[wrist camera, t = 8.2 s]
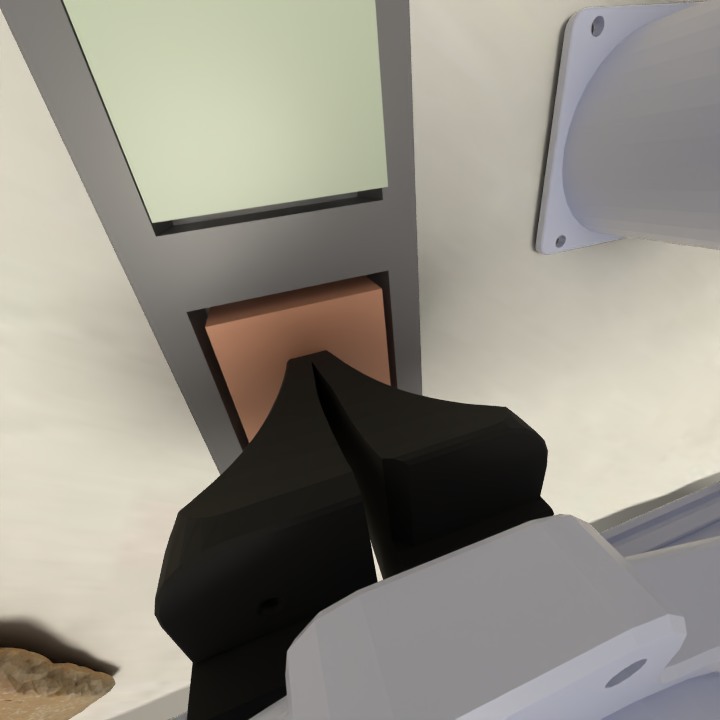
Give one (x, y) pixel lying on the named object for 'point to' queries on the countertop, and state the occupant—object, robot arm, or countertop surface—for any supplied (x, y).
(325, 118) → the cap sage
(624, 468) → the countertop surface
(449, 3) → the countertop surface
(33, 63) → the button panel
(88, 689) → the stone
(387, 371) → the cap terracotta
